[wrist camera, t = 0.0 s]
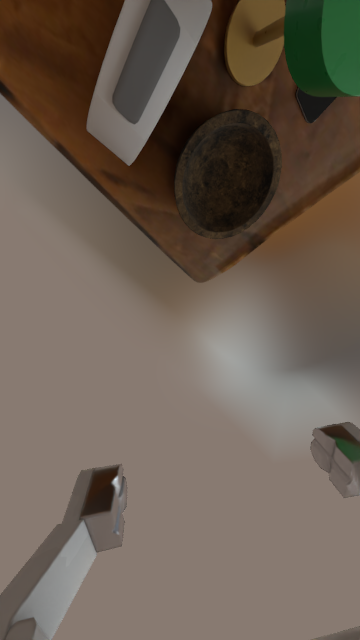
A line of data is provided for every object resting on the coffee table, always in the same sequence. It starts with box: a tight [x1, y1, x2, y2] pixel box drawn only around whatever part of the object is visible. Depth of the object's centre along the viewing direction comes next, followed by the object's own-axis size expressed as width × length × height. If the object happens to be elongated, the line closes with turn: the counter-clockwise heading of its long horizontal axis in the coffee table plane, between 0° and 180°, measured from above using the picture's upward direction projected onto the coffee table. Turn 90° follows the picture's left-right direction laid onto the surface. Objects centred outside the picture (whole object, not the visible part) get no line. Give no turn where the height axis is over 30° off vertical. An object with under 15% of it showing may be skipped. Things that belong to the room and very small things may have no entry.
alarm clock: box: [87, 0, 212, 166], centre depth 29 cm, size 21×8×20 cm, turn 141°
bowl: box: [174, 109, 282, 239], centre depth 44 cm, size 22×22×10 cm
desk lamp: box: [224, 0, 360, 97], centre depth 25 cm, size 13×13×30 cm
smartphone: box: [296, 88, 336, 123], centre depth 38 cm, size 7×1×15 cm
